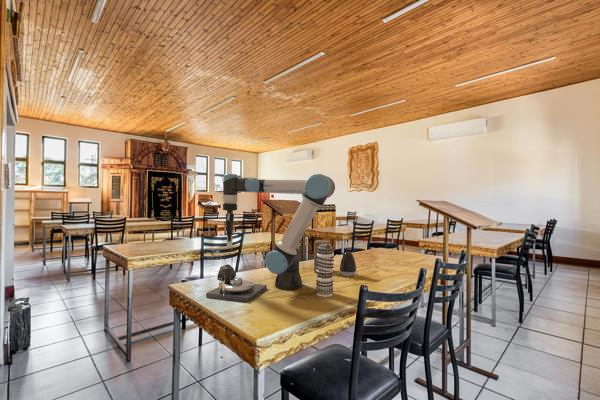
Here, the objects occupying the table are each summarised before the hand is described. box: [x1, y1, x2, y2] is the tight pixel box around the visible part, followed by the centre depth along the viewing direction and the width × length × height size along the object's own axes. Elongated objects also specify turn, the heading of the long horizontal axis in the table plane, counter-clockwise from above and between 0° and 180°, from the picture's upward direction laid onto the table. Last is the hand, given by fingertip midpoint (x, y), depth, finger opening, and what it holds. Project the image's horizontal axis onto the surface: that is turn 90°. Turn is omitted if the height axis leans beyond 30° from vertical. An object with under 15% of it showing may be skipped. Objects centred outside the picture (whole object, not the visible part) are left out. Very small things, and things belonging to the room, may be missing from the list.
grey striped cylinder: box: [313, 239, 331, 273], centre depth 197 cm, size 10×10×20 cm
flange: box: [222, 267, 255, 292], centre depth 149 cm, size 18×16×9 cm
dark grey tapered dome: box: [339, 251, 357, 278], centre depth 185 cm, size 10×10×15 cm
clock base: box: [205, 281, 268, 303], centre depth 149 cm, size 22×22×7 cm
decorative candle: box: [315, 243, 335, 298], centre depth 148 cm, size 9×9×25 cm
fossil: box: [217, 263, 237, 281], centre depth 176 cm, size 11×9×10 cm
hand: (229, 247), depth 158 cm, fingers closed
